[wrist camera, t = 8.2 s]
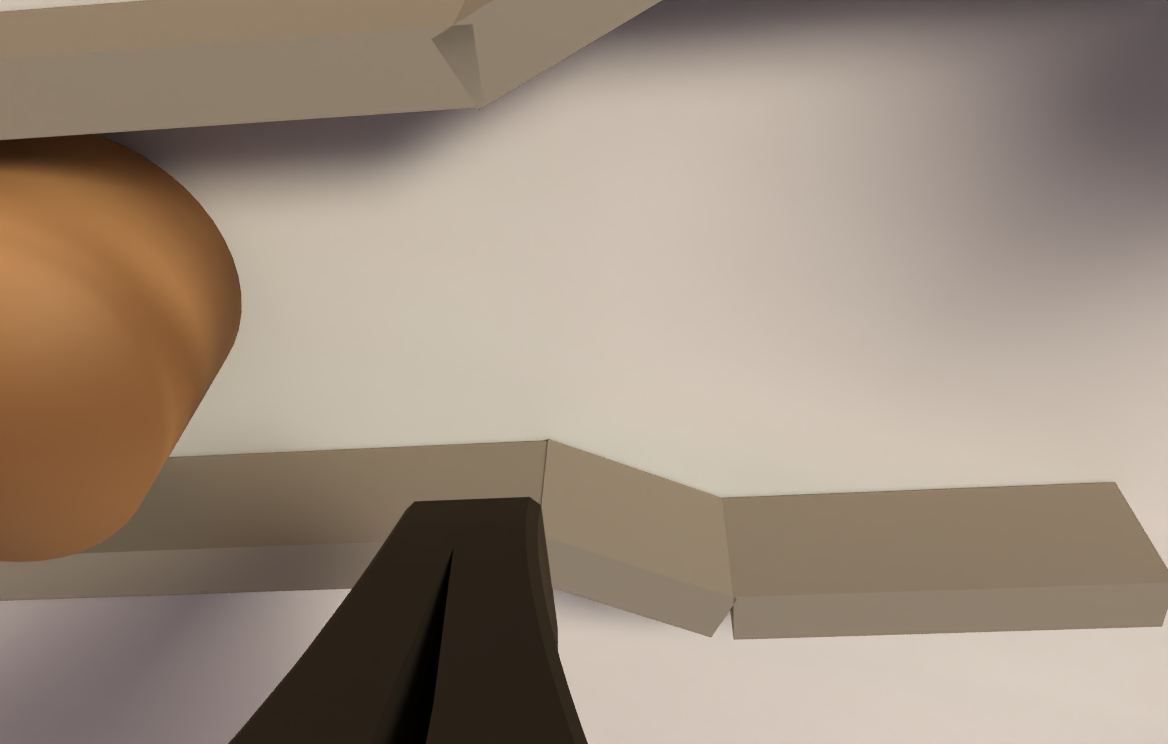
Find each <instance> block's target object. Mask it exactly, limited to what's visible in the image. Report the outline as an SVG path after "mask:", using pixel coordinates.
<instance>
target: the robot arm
mask: <svg viewBox="0 0 1168 744" xmlns="http://www.w3.org/2000/svg"><path fill="white" fill-rule="evenodd" d="M228 744H588V743H587V740H586V737H585V735H584V732H583V729H582V726H581V724H580V721H579V718H578V715H577V712H576V709H575V706H574V703H573V700H572V697H571V694H570V691H569V688H568V685H567V681H566V678H565V675H564V671H563V668H562V664H561V661H560V658H559V654H558V627H557V620H556V612H555V605H554V597H553V590H552V582H551V575H550V567H549V560H548V552H547V545H546V537H545V530H544V523H543V515H542V508H541V505H540V504H539V503H537V502H536V501H535V500H533V499H532V498H531V497H510V498H485V499H460V500H435V501H414V502H413V503H412V504H411V505H410V506H409V507H408V508H407V509H406V510H405V512H404V513H403V515H402V516H401V518H400V519H399V521H398V522H397V524H396V525H395V527H394V529H393V530H392V532H391V533H390V535H389V536H388V538H387V539H386V541H385V542H384V544H383V545H382V546H381V548H380V549H379V551H378V552H377V554H376V555H375V557H374V558H373V560H372V561H371V563H370V564H369V566H368V567H367V568H366V570H365V571H364V573H363V574H362V576H361V577H360V578H359V580H358V581H357V583H356V584H355V585H354V587H353V588H352V590H351V591H350V593H349V594H348V595H347V597H346V598H345V600H344V601H343V602H342V604H341V605H340V606H339V608H338V609H337V610H336V612H335V613H334V614H333V616H332V617H331V618H330V620H329V621H328V622H327V624H326V625H325V626H324V628H323V629H322V630H321V632H320V633H319V634H318V636H317V637H316V638H315V640H314V641H313V642H312V644H311V645H310V646H309V648H308V649H307V650H306V651H305V653H304V654H303V655H302V657H301V658H300V659H299V660H298V662H297V663H296V664H295V665H294V667H293V668H292V669H291V670H290V671H289V673H288V674H287V675H286V676H285V677H284V679H283V680H282V681H281V682H280V683H279V685H278V686H277V687H276V688H275V689H274V691H273V692H272V693H271V694H270V695H269V697H268V698H267V699H266V700H265V701H264V703H263V704H262V705H261V706H260V707H259V709H258V710H257V711H256V712H255V713H254V715H253V716H252V717H251V718H250V719H249V721H248V722H247V723H246V724H245V725H244V727H243V728H242V729H241V730H240V731H239V732H238V733H237V734H236V736H235V737H234V738H233V739H232V740H231V741H230V742H229V743H228Z"/></svg>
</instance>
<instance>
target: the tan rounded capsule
mask: <svg viewBox="0 0 1168 744" xmlns="http://www.w3.org/2000/svg"><path fill="white" fill-rule="evenodd" d="M240 318H241V290H240V284H239V277H238V273H237V270H236V267H235V264H234V260H233V257H232V255H231V253H230V251H229V249H228V246H227V244H226V242H225V240H224V238H223V236H222V235H221V233H220V231H219V230H218V228H217V226H216V225H215V223H214V221H213V220H212V219H211V217H210V216H209V215H208V214H207V212H206V211H205V210H204V208H203V207H202V206H201V205H200V203H199V202H198V201H197V200H196V199H195V198H194V197H193V196H192V195H191V194H190V193H189V192H188V191H187V190H186V189H185V188H184V187H183V186H182V185H181V184H180V183H179V182H177V181H176V180H175V179H174V178H173V177H172V176H170V175H169V174H168V173H167V172H166V171H164V170H163V169H161V168H160V167H158V166H157V165H155V164H154V163H152V162H151V161H149V160H148V159H147V158H145V157H143V156H141V155H140V154H138V153H136V152H134V151H132V150H130V149H128V148H127V147H125V146H123V145H120V144H118V143H115V142H113V141H110V140H108V139H106V138H103V137H101V136H97V135H94V134H82V135H67V136H53V137H38V138H23V139H9V140H0V561H7V562H30V561H44V560H50V559H56V558H62V557H66V556H69V555H73V554H76V553H80V552H82V551H85V550H87V549H89V548H91V547H94V546H96V545H98V544H100V543H101V542H103V541H105V540H106V539H108V538H110V537H111V536H113V535H114V534H115V533H116V532H118V531H119V530H120V529H121V528H122V527H123V526H124V525H125V524H127V522H128V521H129V520H130V519H131V517H132V516H133V515H134V514H135V512H136V511H137V510H138V508H139V506H140V505H141V503H142V501H143V500H144V498H145V496H146V495H147V493H148V491H149V489H150V488H151V486H152V484H153V483H154V481H155V479H156V477H157V476H158V474H159V472H160V471H161V469H162V467H163V466H164V464H165V462H166V460H167V459H168V457H169V455H170V454H171V452H172V450H173V448H174V447H175V445H176V443H177V442H178V440H179V438H180V437H181V435H182V433H183V431H184V430H185V428H186V426H187V425H188V423H189V421H190V419H191V418H192V416H193V414H194V413H195V411H196V409H197V408H198V406H199V404H200V402H201V401H202V399H203V397H204V396H205V394H206V392H207V390H208V389H209V387H210V385H211V384H212V382H213V380H214V379H215V377H216V375H217V373H218V372H219V370H220V368H221V367H222V365H223V363H224V361H225V360H226V358H227V356H228V354H229V352H230V350H231V349H232V347H233V345H234V342H235V339H236V336H237V333H238V330H239V325H240Z"/></svg>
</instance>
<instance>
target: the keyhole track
mask: <svg viewBox="0 0 1168 744" xmlns="http://www.w3.org/2000/svg"><path fill="white" fill-rule="evenodd" d="M660 1H662V0H147V1H134V2H121V3H108V4H95V5H82V6H69V7H56V8H43V9H30V10H17V11H4V12H0V140H9V139H23V138H38V137H53V136H67V135H82V134H97V133H111V132H126V131H141V130H155V129H170V128H185V127H199V126H214V125H229V124H243V123H258V122H273V121H287V120H302V119H317V118H331V117H346V116H361V115H376V114H390V113H405V112H420V111H434V110H449V109H464V108H478V109H479V110H480V109H482V108H483V107H485V106H487V105H488V104H490V103H492V102H493V101H495V100H497V99H498V98H500V97H502V96H503V95H505V94H507V93H508V92H510V91H512V90H513V89H515V88H517V87H518V86H520V85H522V84H523V83H525V82H527V81H528V80H530V79H532V78H533V77H535V76H537V75H538V74H540V73H542V72H543V71H545V70H547V69H548V68H550V67H552V66H553V65H555V64H557V63H558V62H560V61H562V60H563V59H565V58H567V57H568V56H570V55H572V54H573V53H575V52H577V51H578V50H580V49H582V48H583V47H585V46H587V45H588V44H590V43H592V42H593V41H595V40H597V39H598V38H600V37H602V36H603V35H605V34H607V33H608V32H610V31H612V30H613V29H615V28H617V27H618V26H620V25H622V24H623V23H625V22H627V21H628V20H630V19H632V18H633V17H635V16H637V15H638V14H640V13H642V12H643V11H645V10H647V9H648V8H650V7H652V6H653V5H655V4H657V3H658V2H660ZM510 497H531V498H532V499H533V500H535V501H536V502H537V503H539V504H540V505H541V508H542V515H543V523H544V530H545V537H546V545H547V552H548V560H549V567H550V575H551V582H552V588H555V589H558V590H561V591H565V592H568V593H571V594H574V595H577V596H581V597H584V598H587V599H590V600H593V601H597V602H600V603H603V604H606V605H609V606H612V607H616V608H619V609H622V610H625V611H628V612H632V613H635V614H638V615H641V616H644V617H648V618H651V619H654V620H657V621H660V622H664V623H667V624H670V625H673V626H676V627H679V628H683V629H686V630H689V631H692V632H695V633H699V634H702V635H705V636H708V637H712V635H713V634H714V633H715V631H716V630H717V628H718V627H719V625H720V624H721V622H722V621H723V619H724V618H725V617H726V615H727V614H728V612H729V611H731V620H732V629H733V638H734V640H736V639H769V638H801V637H834V636H867V635H899V634H932V633H965V632H997V631H1030V630H1063V629H1095V628H1128V627H1161V626H1162V625H1163V622H1164V618H1165V615H1166V612H1167V609H1168V569H1167V567H1166V566H1165V564H1164V562H1163V561H1162V559H1161V557H1160V556H1159V554H1158V552H1157V551H1156V549H1155V547H1154V546H1153V544H1152V542H1151V541H1150V539H1149V537H1148V536H1147V534H1146V532H1145V531H1144V529H1143V528H1142V526H1141V524H1140V523H1139V521H1138V519H1137V518H1136V516H1135V514H1134V513H1133V511H1132V509H1131V508H1130V506H1129V504H1128V503H1127V501H1126V499H1125V498H1124V496H1123V494H1122V493H1121V491H1120V489H1119V488H1118V486H1117V484H1116V483H1115V482H1110V483H1086V484H1061V485H1036V486H1011V487H986V488H961V489H937V490H912V491H887V492H862V493H837V494H813V495H788V496H763V497H738V498H720V497H717V496H714V495H711V494H708V493H705V492H702V491H699V490H696V489H693V488H690V487H688V486H685V485H682V484H679V483H676V482H673V481H670V480H667V479H664V478H661V477H658V476H655V475H652V474H649V473H646V472H643V471H641V470H638V469H635V468H632V467H629V466H626V465H623V464H620V463H617V462H614V461H611V460H608V459H605V458H602V457H599V456H596V455H593V454H591V453H588V452H585V451H582V450H579V449H576V448H573V447H570V446H567V445H564V444H561V443H558V442H555V441H552V440H549V439H548V441H526V442H504V443H481V444H459V445H437V446H414V447H392V448H370V449H347V450H325V451H303V452H280V453H258V454H236V455H213V456H191V457H169V458H168V459H167V460H166V462H165V464H164V466H163V467H162V469H161V471H160V472H159V474H158V476H157V477H156V479H155V481H154V483H153V484H152V486H151V488H150V489H149V491H148V493H147V495H146V496H145V498H144V500H143V501H142V503H141V505H140V506H139V508H138V510H137V511H136V512H135V514H134V515H133V516H132V517H131V519H130V520H129V521H128V522H127V524H125V525H124V526H123V527H122V528H121V529H120V530H119V531H118V532H116V533H115V534H114V535H113V536H111V537H110V538H108V539H106V540H105V541H103V542H101V543H100V544H98V545H96V546H94V547H91V548H89V549H87V550H85V551H82V552H80V553H76V554H73V555H69V556H66V557H62V558H56V559H50V560H44V561H30V562H7V561H0V601H8V600H36V599H65V598H94V597H122V596H151V595H179V594H208V593H236V592H265V591H294V590H322V589H351V588H353V587H354V585H355V584H356V583H357V581H358V580H359V578H360V577H361V576H362V574H363V573H364V571H365V570H366V568H367V567H368V566H369V564H370V563H371V561H372V560H373V558H374V557H375V555H376V554H377V552H378V551H379V549H380V548H381V546H382V545H383V544H384V542H385V541H386V539H387V538H388V536H389V535H390V533H391V532H392V530H393V529H394V527H395V525H396V524H397V522H398V521H399V519H400V518H401V516H402V515H403V513H404V512H405V510H406V509H407V508H408V507H409V506H410V505H411V504H412V503H413V502H414V501H435V500H460V499H485V498H510Z"/></svg>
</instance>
